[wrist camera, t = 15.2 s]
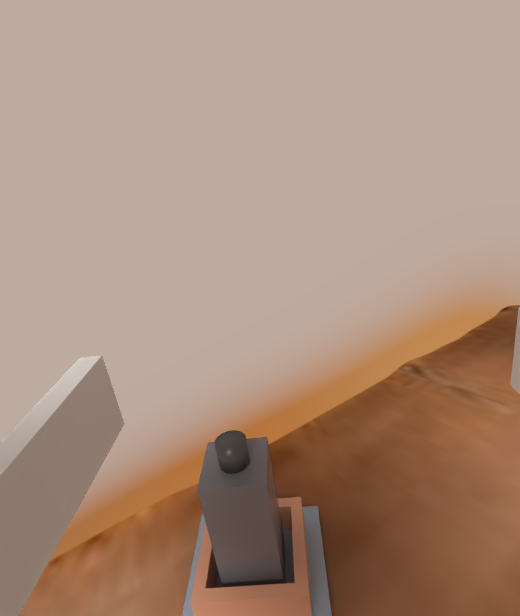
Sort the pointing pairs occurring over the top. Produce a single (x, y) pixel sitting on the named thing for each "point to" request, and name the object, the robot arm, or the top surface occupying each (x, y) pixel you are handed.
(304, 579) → the end holder
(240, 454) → the bottle
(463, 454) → the top surface
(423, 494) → the top surface
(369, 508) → the top surface
